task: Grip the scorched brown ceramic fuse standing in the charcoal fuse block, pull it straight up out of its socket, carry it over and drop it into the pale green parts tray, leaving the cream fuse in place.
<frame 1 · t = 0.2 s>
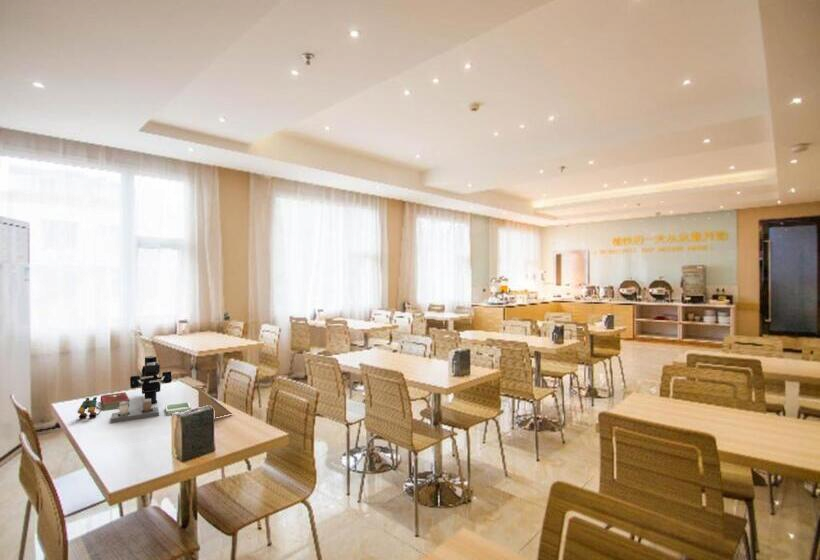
hand: (151, 383, 219), 17 cm above the table, tool horizontal, fingers open, 9 cm apart
blown fuse: (147, 414, 218), resting on fuse block
hardcover book: (114, 405, 239), on the table
sandwich container: (216, 416, 218), on the table
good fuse: (123, 418, 213), resting on fuse block
fuse block: (135, 417, 216), on the table
parts tray: (178, 411, 226), on the table
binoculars: (88, 418, 214), on the table
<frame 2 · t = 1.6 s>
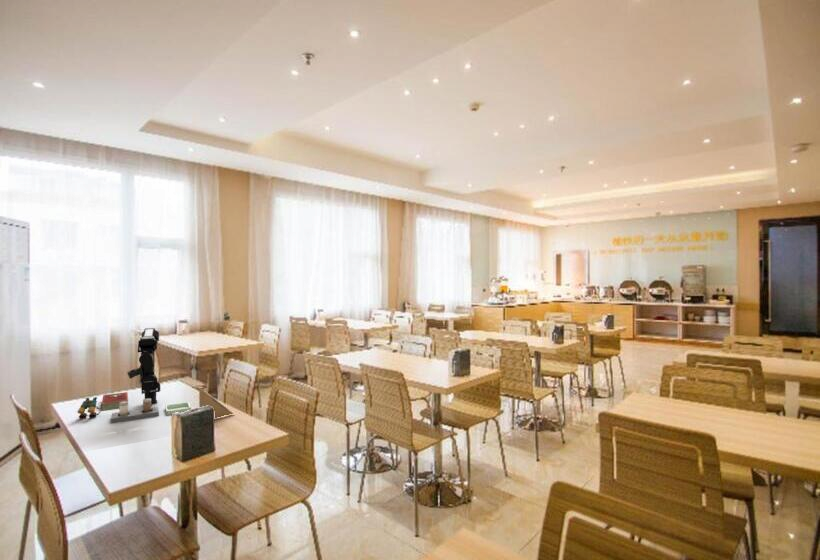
hand: (147, 392, 218), 12 cm above the table, tool pointing down, fingers open, 9 cm apart
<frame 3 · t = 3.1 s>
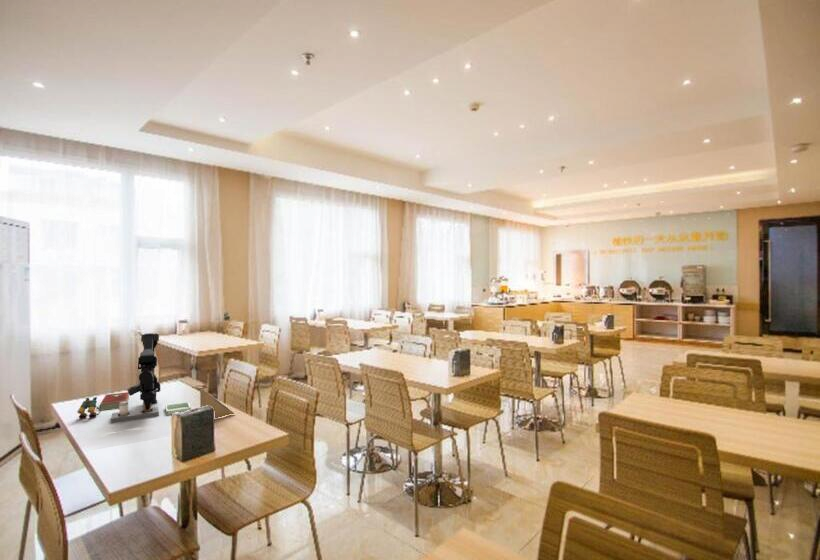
hand: (147, 408, 218), 4 cm above the table, tool pointing down, fingers closed on blown fuse, 4 cm apart
blown fuse: (147, 414, 218), resting on fuse block, touching gripper
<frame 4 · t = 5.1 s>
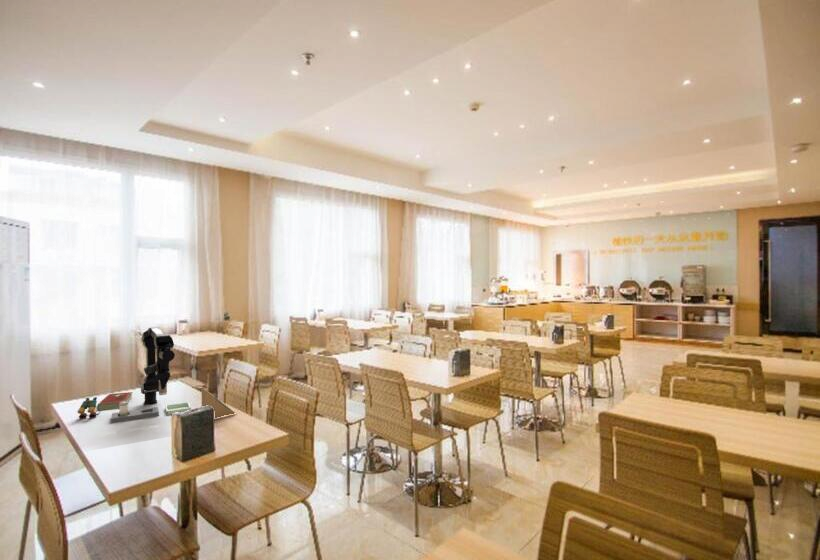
hand: (162, 388, 222), 13 cm above the table, tool pointing down, fingers closed on blown fuse, 4 cm apart
blown fuse: (162, 394, 222), point 10 cm above the table, touching gripper
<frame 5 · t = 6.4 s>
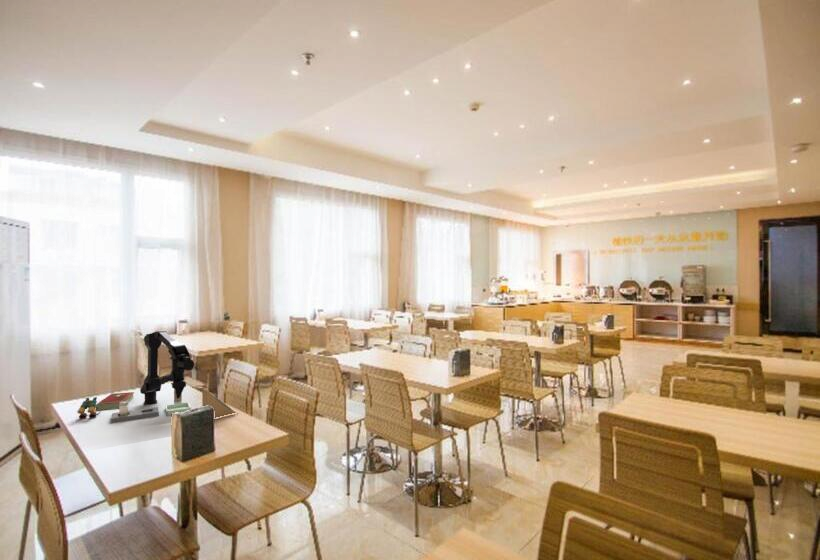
hand: (177, 397, 226), 7 cm above the table, tool pointing down, fingers closed on blown fuse, 4 cm apart
blown fuse: (177, 403, 226), point 4 cm above the table, touching gripper
when the fingers open (5 cm above the table, at t = 7.4 s): blown fuse drops 1 cm, resting on parts tray.
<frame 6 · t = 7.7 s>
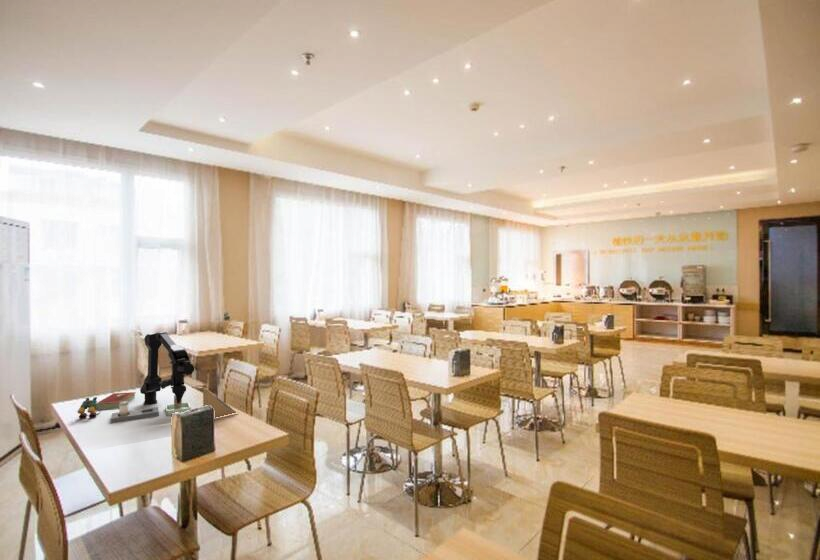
hand: (178, 401, 226), 5 cm above the table, tool pointing down, fingers open, 6 cm apart
blown fuse: (177, 410, 226), point 1 cm above the table, touching parts tray
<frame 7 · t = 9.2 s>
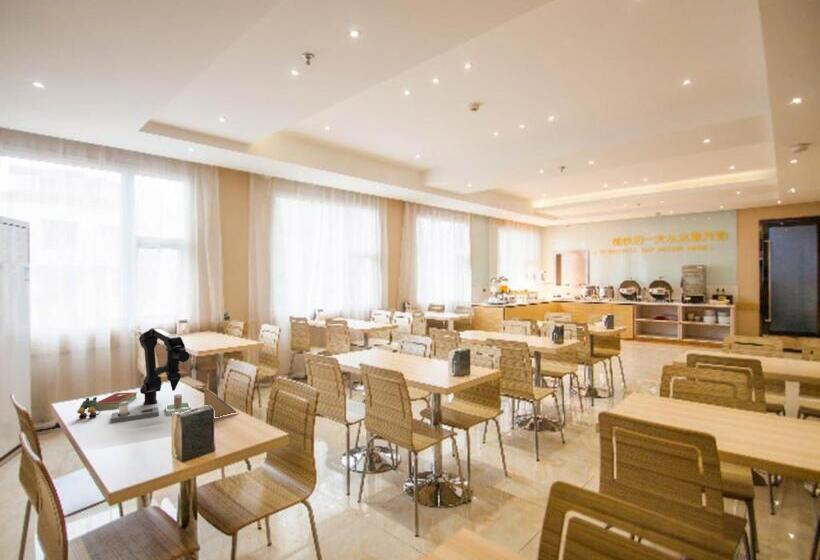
hand: (172, 388, 229), 11 cm above the table, tool pointing down, fingers open, 9 cm apart
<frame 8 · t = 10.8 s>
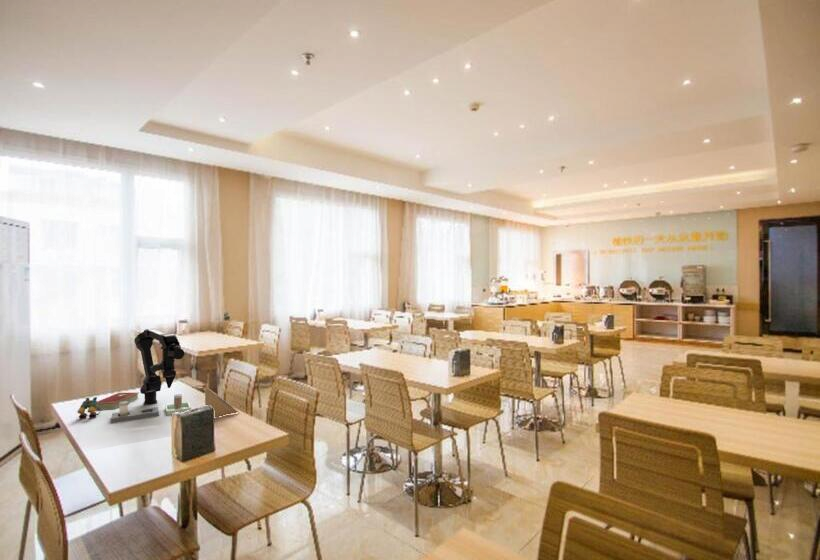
hand: (168, 386, 231), 12 cm above the table, tool pointing down, fingers open, 9 cm apart
at the end: blown fuse inside the target area on the parts tray (0.0 cm from its centre), point 0.6 cm above the parts tray's base; the gripper is holding nothing; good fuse moved 0.0 cm from its start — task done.
